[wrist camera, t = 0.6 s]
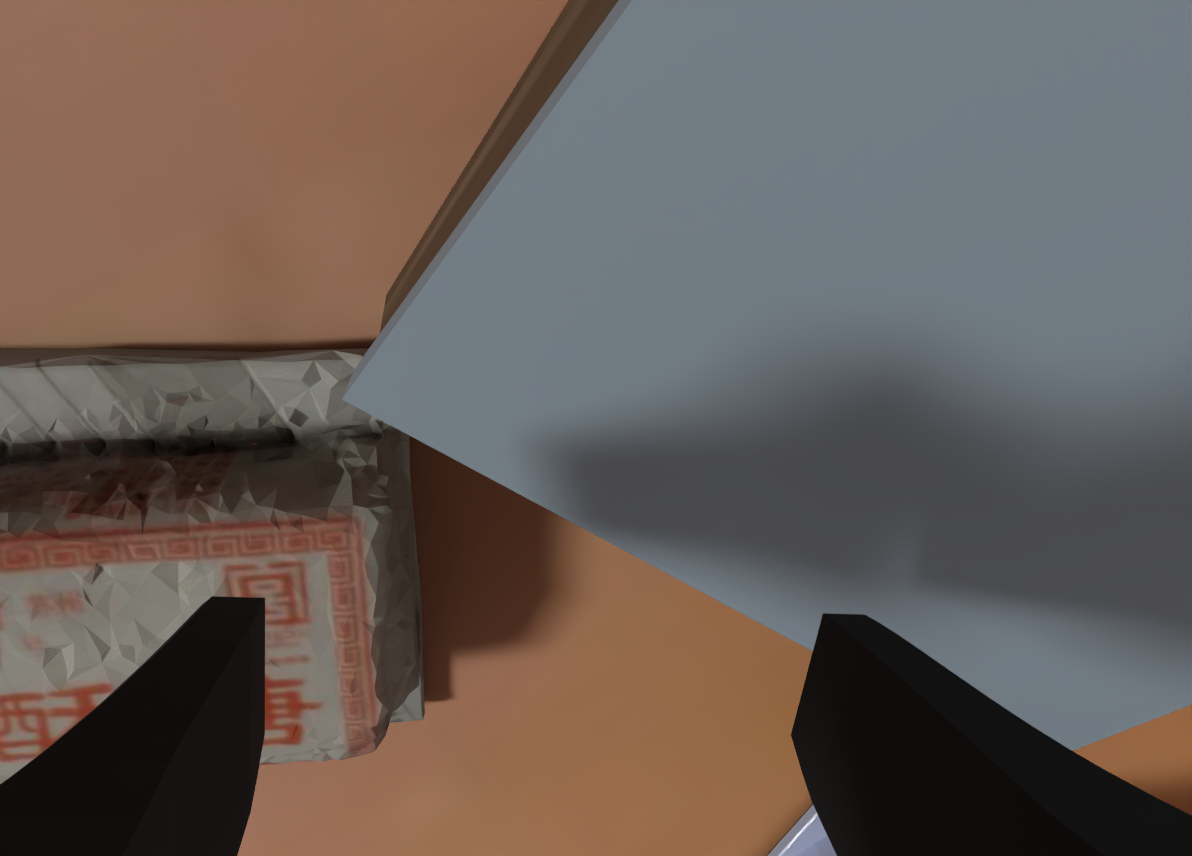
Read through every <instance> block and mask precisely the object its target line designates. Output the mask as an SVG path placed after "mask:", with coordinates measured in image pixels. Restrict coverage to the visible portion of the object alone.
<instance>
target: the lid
mask: <svg viewBox="0 0 1192 856" xmlns="http://www.w3.org/2000/svg"><path fill="white" fill-rule="evenodd" d="M342 400H344V401H346V402H348V403H350V404H352V405H353V406H355V407H357V408H359V409H361V410H363V411H365V412H366V413H368V414H370V415H372V416H374V417H376V418H378V419H380V420H381V421H383V422H385V423H387V424H389V425H391V426H393V427H394V428H396V429H398V430H400V431H402V432H404V433H406V434H408V435H409V436H411V437H413V438H415V439H417V440H419V441H421V442H423V443H424V444H426V445H428V446H430V447H432V448H434V449H436V450H437V451H439V452H441V453H443V454H445V455H447V456H449V457H451V458H452V459H454V460H456V461H458V462H460V463H462V464H464V465H465V466H467V467H469V468H471V469H473V470H475V471H477V472H479V473H480V474H482V475H484V476H486V477H488V478H490V479H492V480H494V481H495V482H497V483H499V484H501V485H503V486H505V487H507V488H508V489H510V490H512V491H514V492H516V493H518V494H520V495H522V496H523V497H525V498H527V499H529V500H531V501H533V502H535V503H537V504H538V505H540V506H542V507H544V508H546V509H548V510H550V511H551V512H553V513H555V514H557V515H559V516H561V517H563V518H565V519H566V520H568V521H570V522H572V523H574V524H576V525H578V526H579V527H581V528H583V529H585V530H587V531H589V532H591V533H593V534H594V535H596V536H598V537H600V538H602V539H604V540H606V541H608V542H609V543H611V544H613V545H615V546H617V547H619V548H621V549H622V550H624V551H626V552H628V553H630V554H632V555H634V556H636V557H637V558H639V559H641V560H643V561H645V562H647V563H649V564H650V565H652V566H654V567H656V568H658V569H660V570H662V571H664V572H665V573H667V574H669V575H671V576H673V577H675V578H677V579H679V580H680V581H682V582H684V583H686V584H688V585H690V586H692V587H693V588H695V589H697V590H699V591H701V592H703V593H705V594H707V595H708V596H710V597H712V598H714V599H716V600H718V601H720V602H722V603H723V604H725V605H727V606H729V607H731V608H733V609H735V610H736V611H738V612H740V613H742V614H744V615H746V616H748V617H750V618H751V619H753V620H755V621H757V622H759V623H761V624H763V625H764V626H766V627H768V628H770V629H772V630H774V631H776V632H778V633H779V634H781V635H783V636H785V637H787V638H789V639H791V640H793V641H794V642H796V643H798V644H800V645H802V646H804V647H806V648H807V649H809V650H811V651H813V649H814V645H815V642H816V638H817V634H818V630H819V626H820V622H821V619H822V615H823V613H828V614H864V615H867V616H868V617H870V618H872V619H874V620H875V621H877V622H879V623H880V624H882V625H884V626H885V627H887V628H888V629H890V630H892V631H893V632H895V633H896V634H898V635H899V636H901V637H902V638H904V639H905V640H907V641H908V642H910V643H911V644H912V645H914V646H915V647H917V648H918V649H920V650H921V651H923V652H924V653H925V654H927V655H928V656H930V657H931V658H933V659H934V660H936V661H937V662H938V663H940V664H941V665H943V666H944V667H946V668H947V669H948V670H950V671H951V672H953V673H954V674H956V675H957V676H959V677H960V678H961V679H963V680H964V681H966V682H967V683H969V684H970V685H971V686H973V687H974V688H976V689H977V690H979V691H980V692H982V693H983V694H985V695H986V696H988V697H989V698H990V699H992V700H993V701H995V702H996V703H998V704H999V705H1001V706H1002V707H1004V708H1005V709H1007V710H1008V711H1010V712H1011V713H1013V714H1014V715H1016V716H1018V717H1019V718H1021V719H1022V720H1024V721H1025V722H1027V723H1028V724H1030V725H1031V726H1033V727H1035V728H1036V729H1038V730H1039V731H1041V732H1043V733H1044V734H1046V735H1047V736H1049V737H1051V738H1052V739H1054V740H1055V741H1057V742H1059V743H1060V744H1062V745H1063V746H1065V747H1067V748H1068V749H1070V750H1071V751H1073V750H1075V749H1078V748H1081V747H1083V746H1086V745H1088V744H1091V743H1093V742H1096V741H1099V740H1101V739H1104V738H1106V737H1109V736H1111V735H1114V734H1117V733H1119V732H1122V731H1124V730H1127V729H1129V728H1132V727H1135V726H1137V725H1140V724H1142V723H1145V722H1147V721H1150V720H1153V719H1155V718H1158V717H1160V716H1163V715H1166V714H1168V713H1171V712H1173V711H1176V710H1178V709H1181V708H1184V707H1186V706H1189V705H1191V704H1192V0H619V1H618V2H617V4H616V5H615V6H614V8H613V9H612V10H611V12H610V13H609V15H608V16H607V17H606V19H605V20H604V22H603V23H602V24H601V26H600V27H599V29H598V30H597V31H596V33H595V34H594V36H593V37H592V38H591V40H590V41H589V43H588V44H587V45H586V47H585V48H584V50H583V51H582V52H581V54H580V55H579V56H578V58H577V59H576V61H575V62H574V63H573V65H572V66H571V68H570V69H569V70H568V72H567V73H566V75H565V76H564V77H563V79H562V80H561V82H560V83H559V84H558V86H557V87H556V89H555V90H554V91H553V93H552V94H551V96H550V97H549V98H548V100H547V101H546V103H545V104H544V105H543V107H542V108H541V109H540V111H539V112H538V114H537V115H536V116H535V118H534V119H533V121H532V122H531V123H530V125H529V126H528V128H527V129H526V130H525V132H524V133H523V135H522V136H521V137H520V139H519V140H518V142H517V143H516V144H515V146H514V147H513V149H512V150H511V151H510V153H509V154H508V156H507V157H506V158H505V160H504V161H503V162H502V164H501V165H500V167H499V168H498V169H497V171H496V172H495V174H494V175H493V176H492V178H491V179H490V181H489V182H488V183H487V185H486V186H485V188H484V189H483V190H482V192H481V193H480V195H479V196H478V197H477V199H476V200H475V202H474V203H473V204H472V206H471V207H470V208H469V210H468V211H467V213H466V214H465V215H464V217H463V218H462V220H461V221H460V222H459V224H458V225H457V227H456V228H455V229H454V231H453V232H452V234H451V235H450V236H449V238H448V239H447V241H446V242H445V243H444V245H443V246H442V248H441V249H440V250H439V252H438V253H437V255H436V256H435V257H434V259H433V260H432V261H431V263H430V264H429V266H428V267H427V268H426V270H425V271H424V273H423V274H422V275H421V277H420V278H419V280H418V281H417V282H416V284H415V285H414V287H413V288H412V289H411V291H410V292H409V294H408V295H407V296H406V298H405V299H404V301H403V302H402V303H401V305H400V306H399V308H398V309H397V310H396V312H395V313H394V314H393V316H392V317H391V319H390V320H389V321H388V323H387V324H386V326H385V327H384V328H383V330H382V331H381V333H380V334H379V335H378V337H377V338H376V340H375V341H374V342H373V344H372V345H371V347H370V348H369V349H368V351H367V352H366V354H365V355H364V356H363V358H362V359H361V360H360V362H359V363H358V365H357V366H356V368H355V370H354V373H353V375H352V377H351V379H350V382H349V384H348V386H347V389H346V391H345V393H344V395H343V398H342Z"/></svg>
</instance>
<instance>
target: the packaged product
mask: <svg viewBox="0 0 1192 856" xmlns="http://www.w3.org/2000/svg"><path fill="white" fill-rule="evenodd" d="M368 349H369V348H358V349H320V350H281V351H266V352H249V351H210V350H171V349H132V348H89V349H0V784H1V783H3V782H4V781H5V780H7V779H8V778H9V777H11V776H12V775H14V774H15V773H16V772H17V771H19V770H20V769H21V768H23V767H24V766H25V765H27V764H28V763H29V762H30V761H32V760H33V759H34V758H36V757H37V756H38V755H39V754H41V753H42V752H43V751H44V750H46V749H47V748H48V747H49V746H50V745H52V744H53V743H54V742H55V741H56V740H58V739H59V738H60V737H61V736H62V735H64V734H65V733H66V732H67V731H68V730H70V729H71V728H72V727H73V726H74V725H76V724H77V723H78V722H79V721H80V720H81V719H83V718H84V717H85V716H86V715H87V714H89V713H90V712H91V711H92V710H93V709H95V708H96V707H97V706H98V705H99V704H100V703H101V702H102V701H104V700H105V699H106V698H107V697H108V696H109V695H110V694H111V693H112V692H113V691H114V690H115V689H117V688H118V687H119V686H120V685H121V684H122V683H123V682H124V681H125V680H126V679H127V678H128V677H129V676H131V675H132V674H133V673H134V672H135V671H136V670H137V669H138V668H139V667H140V666H141V665H142V664H143V663H144V662H145V661H147V660H148V659H149V658H150V657H151V656H152V655H153V654H154V653H155V652H156V651H157V650H158V649H159V648H160V647H161V646H162V645H163V644H164V643H165V642H166V641H167V640H168V639H169V638H170V637H171V636H172V635H173V634H174V633H175V632H176V631H177V630H178V629H179V628H180V627H181V625H182V624H183V623H184V622H185V621H186V620H187V619H188V618H189V617H190V616H191V615H192V614H193V613H194V612H195V611H196V610H197V609H198V608H199V607H200V606H201V605H202V604H203V603H204V602H206V601H207V600H208V599H209V598H211V597H212V596H219V597H255V598H265V736H264V742H263V747H262V753H261V758H260V764H259V765H263V764H283V763H288V762H292V761H325V760H330V759H335V760H342V759H346V758H351V757H355V756H359V755H363V754H367V753H371V752H373V751H375V750H376V749H377V747H378V746H379V744H380V743H381V741H382V740H383V738H384V737H385V735H386V732H387V729H388V725H389V723H391V722H403V721H413V720H423V718H424V714H425V708H424V672H423V636H422V600H421V586H420V576H419V565H418V554H417V543H416V533H415V522H414V511H413V500H412V490H411V479H410V439H409V435H408V434H406V433H404V432H402V431H400V430H398V429H396V428H394V427H393V426H391V425H389V424H387V423H385V422H383V421H381V420H380V419H378V418H376V417H374V416H372V415H370V414H368V413H366V412H365V411H363V410H361V409H359V408H357V407H355V406H353V405H352V404H350V403H348V402H346V401H344V400H342V398H343V395H344V393H345V391H346V389H347V386H348V384H349V382H350V379H351V377H352V375H353V373H354V370H355V368H356V366H357V365H358V363H359V362H360V360H361V359H362V358H363V356H364V355H365V354H366V352H367V351H368Z"/></svg>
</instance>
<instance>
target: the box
mask: <svg viewBox="0 0 1192 856" xmlns="http://www.w3.org/2000/svg"><path fill="white" fill-rule="evenodd" d="M618 1H619V0H569V1H568V3H567V4H566V6H565V7H564V9H563V11H562V12H561V14H560V15H559V17H558V19H557V20H556V22H555V24H554V25H553V27H552V28H551V30H550V32H549V33H548V35H547V36H546V38H545V40H544V41H543V43H542V45H541V46H540V48H539V49H538V51H537V53H536V54H535V56H534V57H533V59H532V61H531V62H530V64H529V66H528V67H527V69H526V70H525V72H524V74H523V75H522V77H521V79H520V80H519V82H518V83H517V85H516V87H515V88H514V90H513V91H512V93H511V95H510V96H509V98H508V100H507V101H506V103H505V104H504V106H503V108H502V109H501V111H500V112H499V114H498V116H497V117H496V119H495V121H494V122H493V124H492V125H491V127H490V129H489V130H488V132H487V133H486V135H485V137H484V138H483V140H482V142H481V143H480V145H479V146H478V148H477V150H476V151H475V153H474V155H473V156H472V158H471V159H470V161H469V163H468V164H467V166H466V167H465V169H464V171H463V172H462V174H461V176H460V177H459V179H458V180H457V182H456V184H455V185H454V187H453V188H452V190H451V192H450V193H449V195H448V197H447V198H446V200H445V201H444V203H443V205H442V206H441V208H440V209H439V211H438V213H437V214H436V216H435V218H434V219H433V221H432V222H431V224H430V226H429V227H428V229H427V231H426V232H425V234H424V235H423V237H422V239H421V240H420V242H419V243H418V245H417V247H416V248H415V250H414V252H413V253H412V255H411V256H410V258H409V260H408V261H407V263H406V264H405V266H404V268H403V269H402V271H401V273H400V274H399V276H398V277H397V279H396V281H395V282H394V284H393V285H392V287H391V289H390V290H389V292H388V294H387V296H386V301H385V307H384V313H383V318H382V324H381V330H380V333H381V331H382V330H383V328H384V327H385V326H386V324H387V323H388V321H389V320H390V319H391V317H392V316H393V314H394V313H395V312H396V310H397V309H398V308H399V306H400V305H401V303H402V302H403V301H404V299H405V298H406V296H407V295H408V294H409V292H410V291H411V289H412V288H413V287H414V285H415V284H416V282H417V281H418V280H419V278H420V277H421V275H422V274H423V273H424V271H425V270H426V268H427V267H428V266H429V264H430V263H431V261H432V260H433V259H434V257H435V256H436V255H437V253H438V252H439V250H440V249H441V248H442V246H443V245H444V243H445V242H446V241H447V239H448V238H449V236H450V235H451V234H452V232H453V231H454V229H455V228H456V227H457V225H458V224H459V222H460V221H461V220H462V218H463V217H464V215H465V214H466V213H467V211H468V210H469V208H470V207H471V206H472V204H473V203H474V202H475V200H476V199H477V197H478V196H479V195H480V193H481V192H482V190H483V189H484V188H485V186H486V185H487V183H488V182H489V181H490V179H491V178H492V176H493V175H494V174H495V172H496V171H497V169H498V168H499V167H500V165H501V164H502V162H503V161H504V160H505V158H506V157H507V156H508V154H509V153H510V151H511V150H512V149H513V147H514V146H515V144H516V143H517V142H518V140H519V139H520V137H521V136H522V135H523V133H524V132H525V130H526V129H527V128H528V126H529V125H530V123H531V122H532V121H533V119H534V118H535V116H536V115H537V114H538V112H539V111H540V109H541V108H542V107H543V105H544V104H545V103H546V101H547V100H548V98H549V97H550V96H551V94H552V93H553V91H554V90H555V89H556V87H557V86H558V84H559V83H560V82H561V80H562V79H563V77H564V76H565V75H566V73H567V72H568V70H569V69H570V68H571V66H572V65H573V63H574V62H575V61H576V59H577V58H578V56H579V55H580V54H581V52H582V51H583V50H584V48H585V47H586V45H587V44H588V43H589V41H590V40H591V38H592V37H593V36H594V34H595V33H596V31H597V30H598V29H599V27H600V26H601V24H602V23H603V22H604V20H605V19H606V17H607V16H608V15H609V13H610V12H611V10H612V9H613V8H614V6H615V5H616V4H617V2H618Z"/></svg>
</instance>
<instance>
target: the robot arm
mask: <svg viewBox="0 0 1192 856" xmlns="http://www.w3.org/2000/svg"><path fill="white" fill-rule="evenodd" d="M264 736H265V598H255V597H219V596H212V597H211V598H209V599H208V600H207V601H206V602H204V603H203V604H202V605H201V606H200V607H199V608H198V609H197V610H196V611H195V612H194V613H193V614H192V615H191V616H190V617H189V618H188V619H187V620H186V621H185V622H184V623H183V624H182V625H181V627H180V628H179V629H178V630H177V631H176V632H175V633H174V634H173V635H172V636H171V637H170V638H169V639H168V640H167V641H166V642H165V643H164V644H163V645H162V646H161V647H160V648H159V649H158V650H157V651H156V652H155V653H154V654H153V655H152V656H151V657H150V658H149V659H148V660H147V661H145V662H144V663H143V664H142V665H141V666H140V667H139V668H138V669H137V670H136V671H135V672H134V673H133V674H132V675H131V676H129V677H128V678H127V679H126V680H125V681H124V682H123V683H122V684H121V685H120V686H119V687H118V688H117V689H115V690H114V691H113V692H112V693H111V694H110V695H109V696H108V697H107V698H106V699H105V700H104V701H102V702H101V703H100V704H99V705H98V706H97V707H96V708H95V709H93V710H92V711H91V712H90V713H89V714H87V715H86V716H85V717H84V718H83V719H81V720H80V721H79V722H78V723H77V724H76V725H74V726H73V727H72V728H71V729H70V730H68V731H67V732H66V733H65V734H64V735H62V736H61V737H60V738H59V739H58V740H56V741H55V742H54V743H53V744H52V745H50V746H49V747H48V748H47V749H46V750H44V751H43V752H42V753H41V754H39V755H38V756H37V757H36V758H34V759H33V760H32V761H30V762H29V763H28V764H27V765H25V766H24V767H23V768H21V769H20V770H19V771H17V772H16V773H15V774H14V775H12V776H11V777H9V778H8V779H7V780H5V781H4V782H3V783H1V784H0V856H237V854H238V851H239V848H240V844H241V841H242V838H243V835H244V831H245V828H246V825H247V821H248V818H249V815H250V811H251V806H252V801H253V796H254V791H255V785H256V780H257V775H258V769H259V764H260V758H261V753H262V747H263V742H264ZM791 736H792V740H793V743H794V746H795V750H796V753H797V757H798V760H799V763H800V767H801V770H802V773H803V776H804V779H805V782H806V785H807V788H808V791H809V794H810V797H811V800H812V803H813V805H812V806H811V807H810V809H809V810H808V811H807V812H806V813H805V814H804V815H803V816H802V818H801V819H800V820H799V821H798V822H797V823H796V824H795V825H794V826H793V828H792V829H791V830H790V831H789V832H788V833H787V834H786V835H785V836H784V838H783V839H782V840H781V841H780V842H779V843H778V844H777V845H776V847H775V848H774V849H773V850H772V851H771V852H770V853H769V854H768V855H767V856H1192V816H1191V815H1189V814H1187V813H1185V812H1183V811H1181V810H1179V809H1177V808H1175V807H1173V806H1171V805H1169V804H1167V803H1165V802H1163V801H1161V800H1159V799H1157V798H1156V797H1154V796H1152V795H1150V794H1148V793H1146V792H1144V791H1143V790H1141V789H1139V788H1137V787H1135V786H1133V785H1132V784H1130V783H1128V782H1126V781H1124V780H1122V779H1120V778H1119V777H1117V776H1115V775H1113V774H1111V773H1109V772H1107V771H1106V770H1104V769H1102V768H1100V767H1099V766H1097V765H1095V764H1093V763H1092V762H1090V761H1088V760H1087V759H1085V758H1083V757H1081V756H1080V755H1078V754H1076V753H1075V752H1073V751H1071V750H1070V749H1068V748H1067V747H1065V746H1063V745H1062V744H1060V743H1059V742H1057V741H1055V740H1054V739H1052V738H1051V737H1049V736H1047V735H1046V734H1044V733H1043V732H1041V731H1039V730H1038V729H1036V728H1035V727H1033V726H1031V725H1030V724H1028V723H1027V722H1025V721H1024V720H1022V719H1021V718H1019V717H1018V716H1016V715H1014V714H1013V713H1011V712H1010V711H1008V710H1007V709H1005V708H1004V707H1002V706H1001V705H999V704H998V703H996V702H995V701H993V700H992V699H990V698H989V697H988V696H986V695H985V694H983V693H982V692H980V691H979V690H977V689H976V688H974V687H973V686H971V685H970V684H969V683H967V682H966V681H964V680H963V679H961V678H960V677H959V676H957V675H956V674H954V673H953V672H951V671H950V670H948V669H947V668H946V667H944V666H943V665H941V664H940V663H938V662H937V661H936V660H934V659H933V658H931V657H930V656H928V655H927V654H925V653H924V652H923V651H921V650H920V649H918V648H917V647H915V646H914V645H912V644H911V643H910V642H908V641H907V640H905V639H904V638H902V637H901V636H899V635H898V634H896V633H895V632H893V631H892V630H890V629H888V628H887V627H885V626H884V625H882V624H880V623H879V622H877V621H875V620H874V619H872V618H870V617H868V616H867V615H864V614H828V613H823V615H822V619H821V622H820V626H819V630H818V634H817V638H816V642H815V645H814V649H813V653H812V657H811V661H810V664H809V668H808V672H807V676H806V680H805V684H804V687H803V691H802V695H801V699H800V703H799V706H798V710H797V714H796V718H795V722H794V726H793V729H792V733H791Z"/></svg>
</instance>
